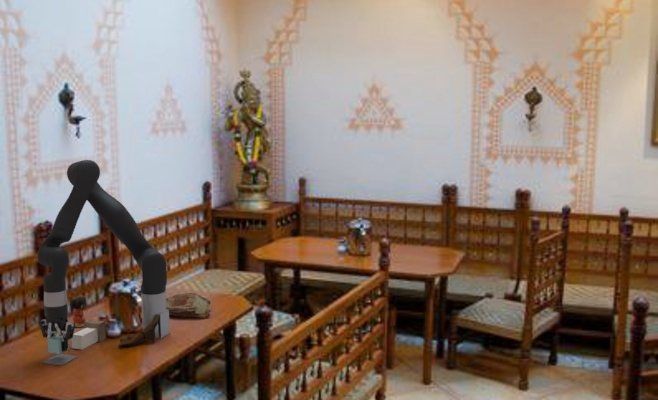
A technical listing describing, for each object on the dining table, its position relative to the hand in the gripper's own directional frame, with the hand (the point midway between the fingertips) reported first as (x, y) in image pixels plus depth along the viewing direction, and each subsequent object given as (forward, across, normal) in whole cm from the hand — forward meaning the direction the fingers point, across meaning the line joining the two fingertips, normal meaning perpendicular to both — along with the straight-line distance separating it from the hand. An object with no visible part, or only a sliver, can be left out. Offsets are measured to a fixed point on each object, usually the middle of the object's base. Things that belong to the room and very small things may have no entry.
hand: (58, 349), depth 251 cm
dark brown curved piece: (+4, -18, -23) cm, 29 cm away
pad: (+4, 0, 0) cm, 4 cm away
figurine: (+4, +17, -33) cm, 37 cm away
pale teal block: (0, 0, 0) cm, 0 cm away
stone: (+4, -15, -60) cm, 62 cm away
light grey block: (+4, +1, -17) cm, 17 cm away
